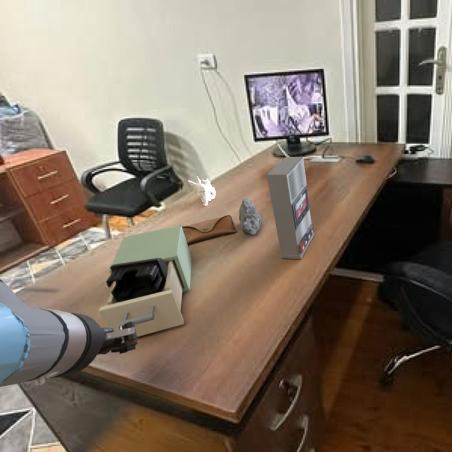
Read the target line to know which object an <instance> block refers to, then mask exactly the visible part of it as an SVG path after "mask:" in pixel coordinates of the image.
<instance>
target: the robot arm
mask: <svg viewBox="0 0 452 452" xmlns="http://www.w3.org/2000/svg"><path fill="white" fill-rule="evenodd" d="M138 342H139V341H138V337H137V334H136V329H135V324H134V322H131V321H130V322H127V323H126V324H124V325H121V326H119V330H117V331H114V329H113V328H110V327H108V326H107V327H102V326H100V324H98V322H97V321H96V319H93V318H92V317H90V316H89V315H86V314H83V313H78V312H70V311H63V310H58V309H51V308H43V307H32V306H28V305H27V304H25V303H24V302H23V301H22V300H21V299H20V298H19V297H18V295H17V294H16V293H15V292H14V291H13V290H12V289H11V287H9V285H8V284H7V283H6V282H4V281H3V280H2V279H1V278H0V388H2V387H8V386H13V385H18V384H22V383H23V384H24V383H29V382H34V386H36V387H41V386H44V385H45V384H47V379H56V378H60V377H65V376H66V377H67V376H72V375H75V374H78V373H80V372H81V371H83V370H85V369H86V368H87V367H88V366H90V365H91V364H92V362H94V361H95V359H96V358H97V356H99V355H107V354H108V353H112V354H113V353H119V355H121V354H126V353H128V352H130V351H133V350H136V349H137V348H136V347H137V345H138V344H139V343H138Z"/></svg>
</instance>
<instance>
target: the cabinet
mask: <svg viewBox="0 0 452 452" xmlns="http://www.w3.org/2000/svg"><path fill="white" fill-rule="evenodd" d="M182 226H183V225H181V224H179V225H175V226H169V227H165V228H161V229H155V230H151V231H145V232H142V233H135V234H132V235H126V236H123V237H122V240H121V242H120V244H119V247H118V249H117V252H116V254H115V257H114V259H113V261H112V264H111V266H112V265H114V264H120V263H126V262H133V261H140V260H147V259H153V258H162V259H163V260H164V261H165V262H166V261H170V260H175V263H176V265H177V268H178V271H179V274H180V276H181V279H182V282H183V288H182V294H184V293H187V292H188V293H189V292H190V291H191V277H192V275H191V274H192V261H193V259H192V258H193V257H192V253H191V251H190V248H189V247H190V246H189V245H188V244H187V241H186V238H185V235H184V232H183V229H182ZM108 272H109V274H110V275H111V274H112V271H111V269H110V268H109V271H108ZM113 283H115V281H114V282H113Z"/></svg>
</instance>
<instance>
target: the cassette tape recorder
mask: <svg viewBox="0 0 452 452" xmlns="http://www.w3.org/2000/svg"><path fill="white" fill-rule="evenodd" d="M266 178H267V185H268V189H269V196H270V200H271V206H272V212H273V217H274V222H275V223H274V224H275V229H276V234H277V239H278V244H279V245H278V246H279V251H280V258H281V259H290V260H302V259H303V257H304V255H305V253H306V251H307V249H308V247H309V246H310V244H311V241H312V240H313V238H314V236H315V233H316V232H315V229H314V224H313V223H312V217H311V208H310V202H309V201H310V200H309V193H308V185H307V184H308V183H307V176H306V169H305V162H304V156H285V157H284V158H283V159H282V160H280V161H279V162H278V163H277V164H276V165H275V166H274V167H273V168H272V169H271V170H270V171H269V172H267V174H266Z"/></svg>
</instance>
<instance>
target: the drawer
mask: <svg viewBox="0 0 452 452" xmlns="http://www.w3.org/2000/svg"><path fill="white" fill-rule="evenodd" d="M165 263H166V266H167V278H166V283H165V286H164V289H163V291H162V292H159V293H155V294H151V295H147V296H143V297H139V298H135V299H131V300H127V301H123V302H119V303H118V302H117V300H116V299H117V298H114V297H113V295H112V294H111V293H110V294H109V296H108V299H107V305H104V306H103V305H102V306H100V308H99V311H98V312H99V313H100V315H101V318H102V319H103V321H104V323H105V325H106V326H107V328H108V327H110V328H113V329H114V331H117V330H119V326H121V325H124V324H126V323H127V322H130V321H131V322H134V324H135V329H136V334H137V338H138V337H141V336H144V335H148V334H152V333H157V332H160V331H163V330H167V329H171V328H174V327H179V326H182V325H184V324H185V320H184V317H183V315H182V312H181V310H182V309H181V308H182V298H183V293H182V288H183V282H182V279H181V276H180V274H179V271H178V268H177V265H176V263H175V260H170V261H166V262H165ZM115 285H116V282H113V285H112V289H111V291H112V290H113V288H114V287H115Z"/></svg>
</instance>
